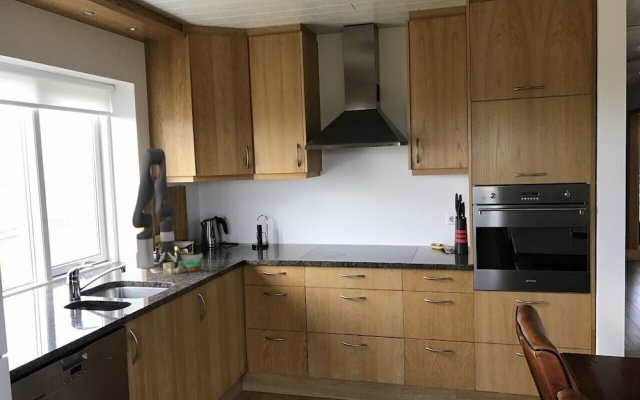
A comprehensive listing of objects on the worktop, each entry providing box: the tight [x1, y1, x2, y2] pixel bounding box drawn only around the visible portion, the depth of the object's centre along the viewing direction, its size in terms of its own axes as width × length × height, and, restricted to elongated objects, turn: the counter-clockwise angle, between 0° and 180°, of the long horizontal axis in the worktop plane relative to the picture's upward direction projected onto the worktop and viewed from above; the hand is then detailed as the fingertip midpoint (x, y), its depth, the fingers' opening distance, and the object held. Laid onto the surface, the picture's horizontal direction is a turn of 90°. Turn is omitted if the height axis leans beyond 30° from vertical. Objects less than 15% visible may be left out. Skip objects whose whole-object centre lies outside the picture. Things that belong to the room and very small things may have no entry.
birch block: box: [162, 261, 176, 276], centre depth 295 cm, size 4×4×6 cm
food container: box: [181, 252, 204, 274], centre depth 297 cm, size 12×6×10 cm, turn 105°
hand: (169, 268), depth 295 cm, fingers open, 8 cm apart
